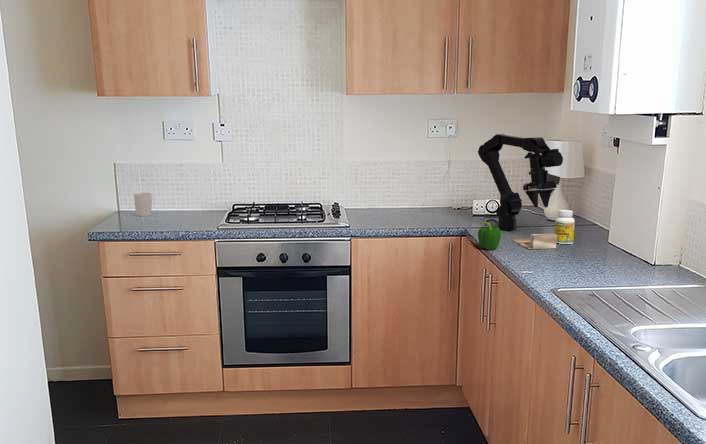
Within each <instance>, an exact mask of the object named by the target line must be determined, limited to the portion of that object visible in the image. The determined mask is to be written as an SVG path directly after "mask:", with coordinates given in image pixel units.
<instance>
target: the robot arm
mask: <svg viewBox="0 0 706 444" xmlns="http://www.w3.org/2000/svg"><path fill="white" fill-rule="evenodd" d="M503 145H506V146H511V147H516V148H517V147H518V148H521V149H522V150H524V151H527V154H525V156H524V159H528V160H529V171H528V175H530V182H529V183H524V184H523V185H522V188H523V189H522V191H524V193H525V194H526V195H527V197H528V198H529V200H530V201H531V203H532V205H533V207H534V208H538V207H539V206H538V205H539V196H540V199H541V202H542V205H543V207H544V208H548V206H549V203H550V198H551V194H552V193H553V192H554V191H555V190H556V188H558V186H557V185H560V181H561V176H558V175H555V174H554V175H553V174H551V173H549V170H547V169H546V168H553V167H560V166H561V165H563V163H564V162H563V161H564V159H563V158H564V157H563V155H562V153H561V152H560V149H559V148H553V149H551V148H550V147H549V146H548V144H547V143H546V141H545V139H544V138H543V137H541V136H537V137H534V136H533V137H521V136H520V137H519V136H515V135H506V134H504V133H498V134H495V135H494V136H492V137H491V138H490V139H489V140H487V141H485V142H484V143H483V144H481V145H480V146H479V147H478V151H477V154H478V156H479V158H480V159H481V161H482V162H483V163H484V164H485V165H487V166H488V169H489V172H490V174H491V176H492V178H493V181H494V183H495V185H496V188H497V190H498V192H499V195H500V198H499V203H500V205H499V206H498V207H497V209H496V210H495V213H496V216H498V227H497V228H500V231H506V232H511V231H514V230H517V219H516V216H518V215H519V213H520V211H521V209H522V207H523V203H522V202H523V200H522V198H521V197H520V194H519V192H514V191H513V190H512V189H511V186H510V184H509V182H508V179H507V177H506V174H505V172H504V169H503V168H502V166H501V163H500V151H501V150H502V148H503Z"/></svg>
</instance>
